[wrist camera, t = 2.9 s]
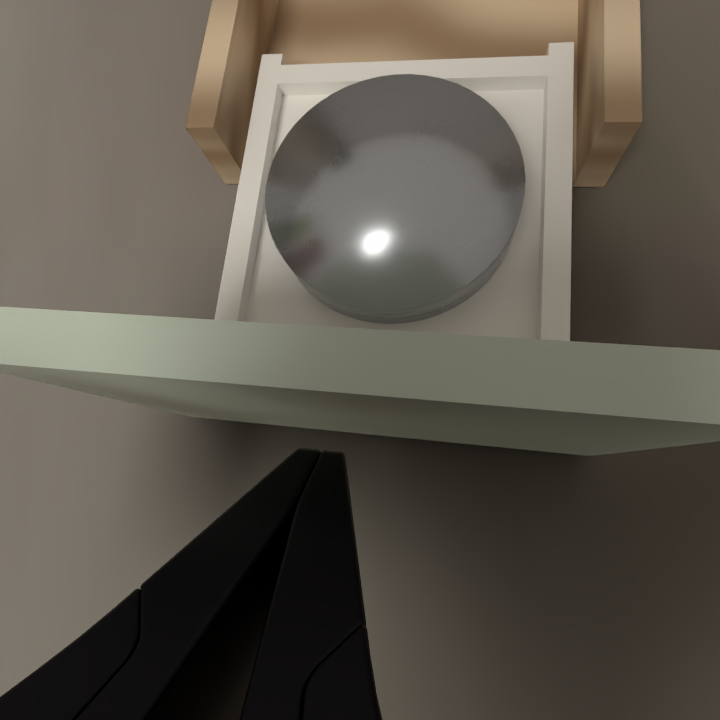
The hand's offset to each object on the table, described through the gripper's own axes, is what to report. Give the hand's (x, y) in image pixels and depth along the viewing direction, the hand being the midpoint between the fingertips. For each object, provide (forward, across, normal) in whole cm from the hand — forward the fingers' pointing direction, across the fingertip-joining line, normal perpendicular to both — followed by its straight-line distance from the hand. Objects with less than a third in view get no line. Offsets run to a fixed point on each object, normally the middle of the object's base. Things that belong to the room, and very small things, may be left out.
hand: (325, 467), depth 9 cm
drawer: (+11, 0, -1) cm, 11 cm away
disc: (+10, 0, -2) cm, 11 cm away
